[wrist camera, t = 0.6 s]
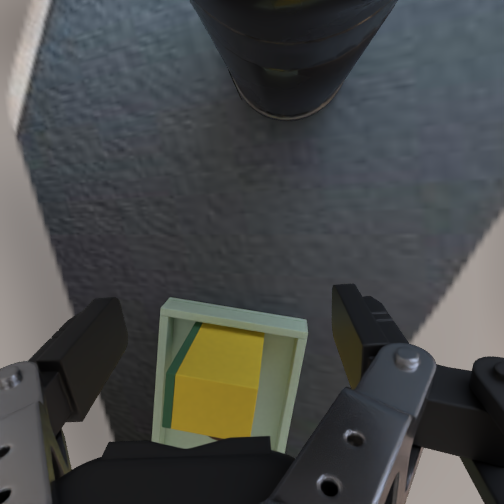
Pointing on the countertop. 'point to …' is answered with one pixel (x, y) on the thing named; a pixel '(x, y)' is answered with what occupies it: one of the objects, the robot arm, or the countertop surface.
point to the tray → (271, 373)
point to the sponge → (214, 382)
